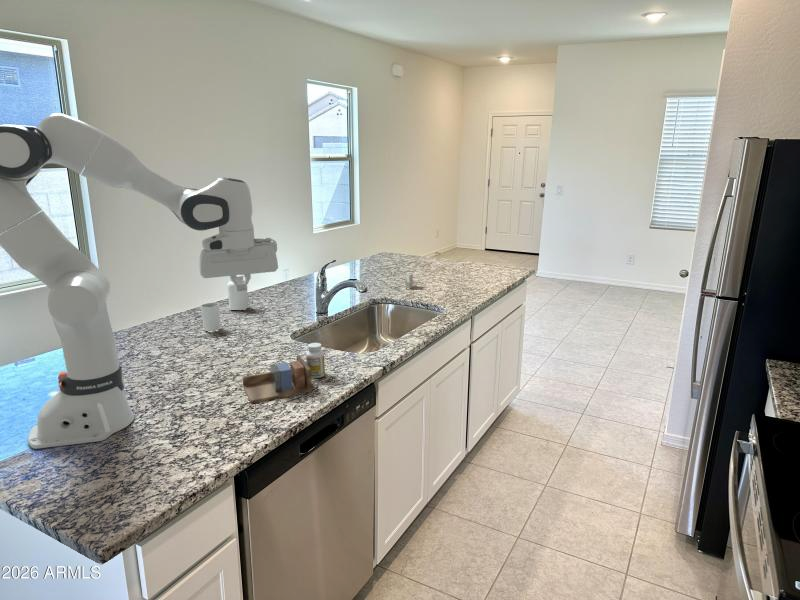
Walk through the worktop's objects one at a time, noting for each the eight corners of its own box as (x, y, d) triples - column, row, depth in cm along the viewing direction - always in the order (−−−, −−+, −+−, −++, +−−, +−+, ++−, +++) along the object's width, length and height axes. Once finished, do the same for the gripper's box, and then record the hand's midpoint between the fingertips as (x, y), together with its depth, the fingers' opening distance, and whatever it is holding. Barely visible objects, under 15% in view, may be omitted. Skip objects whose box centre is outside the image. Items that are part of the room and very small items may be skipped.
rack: (250, 403, 145) (248, 380, 143) (243, 386, 155) (241, 365, 153) (311, 391, 152) (310, 369, 150) (300, 376, 162) (299, 355, 160)
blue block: (281, 391, 150) (280, 371, 149) (277, 383, 155) (275, 364, 153) (292, 389, 151) (291, 369, 150) (287, 381, 156) (286, 362, 155)
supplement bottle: (316, 370, 167) (315, 340, 164) (328, 374, 163) (327, 344, 161) (303, 375, 163) (301, 345, 160) (315, 380, 159) (313, 349, 157)
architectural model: (402, 290, 263) (402, 275, 261) (406, 286, 270) (406, 272, 268) (409, 290, 262) (409, 275, 260) (413, 287, 269) (413, 272, 267)
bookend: (275, 391, 149) (274, 371, 148) (271, 384, 154) (269, 364, 153) (281, 390, 150) (280, 370, 149) (276, 383, 155) (275, 363, 153)
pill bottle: (252, 308, 232) (250, 274, 228) (238, 312, 225) (235, 278, 221) (240, 305, 236) (237, 272, 232) (225, 310, 229) (222, 275, 225)
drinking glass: (224, 327, 207) (222, 302, 204) (217, 333, 200) (214, 307, 198) (207, 327, 207) (205, 302, 205) (200, 332, 201) (197, 307, 198)
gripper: (273, 235, 149) (276, 283, 153) (195, 241, 141) (201, 291, 145) (279, 238, 144) (282, 288, 148) (198, 244, 135) (203, 297, 139)
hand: (241, 290), depth 146 cm, fingers closed
